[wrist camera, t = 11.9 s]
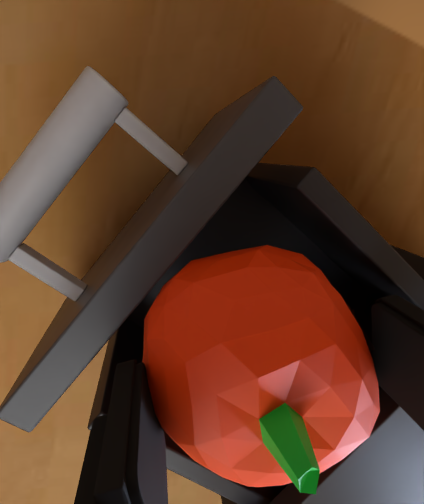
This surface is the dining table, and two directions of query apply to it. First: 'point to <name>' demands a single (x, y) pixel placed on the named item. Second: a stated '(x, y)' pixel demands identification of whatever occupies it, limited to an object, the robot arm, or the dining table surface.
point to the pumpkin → (260, 368)
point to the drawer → (178, 240)
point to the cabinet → (374, 457)
